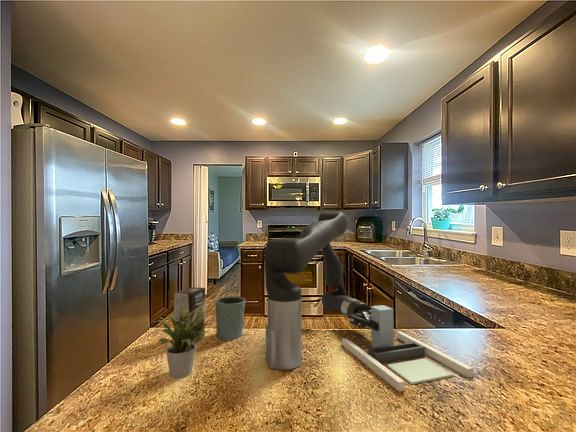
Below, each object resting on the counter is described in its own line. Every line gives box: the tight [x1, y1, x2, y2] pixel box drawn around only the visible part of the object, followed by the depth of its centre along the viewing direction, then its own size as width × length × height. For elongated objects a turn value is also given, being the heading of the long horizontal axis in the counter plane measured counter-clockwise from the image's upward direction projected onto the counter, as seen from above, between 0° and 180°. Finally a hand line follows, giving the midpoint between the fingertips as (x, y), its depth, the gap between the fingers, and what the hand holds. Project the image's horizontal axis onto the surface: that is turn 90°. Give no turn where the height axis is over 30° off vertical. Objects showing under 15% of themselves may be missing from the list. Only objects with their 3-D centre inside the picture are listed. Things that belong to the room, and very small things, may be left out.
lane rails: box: [342, 331, 474, 392], centre depth 79 cm, size 22×26×2 cm
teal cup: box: [214, 295, 246, 341], centre depth 97 cm, size 10×10×12 cm
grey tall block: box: [370, 304, 395, 348], centre depth 87 cm, size 5×5×12 cm
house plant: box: [152, 306, 211, 379], centre depth 70 cm, size 14×14×16 cm
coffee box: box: [172, 287, 206, 344], centre depth 93 cm, size 9×6×16 cm
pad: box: [386, 358, 453, 385], centre depth 72 cm, size 12×9×1 cm
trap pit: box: [367, 342, 426, 364], centre depth 80 cm, size 16×4×2 cm, turn 107°
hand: (385, 326), depth 85 cm, fingers closed on grey tall block, 4 cm apart
